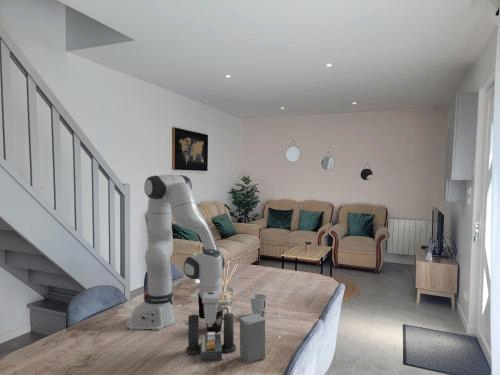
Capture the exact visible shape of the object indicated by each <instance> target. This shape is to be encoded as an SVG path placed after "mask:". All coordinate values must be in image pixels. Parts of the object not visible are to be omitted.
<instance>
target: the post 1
mask: <svg viewBox="0 0 500 375" xmlns="http://www.w3.org/2000/svg"><path fill="white" fill-rule="evenodd" d="M199 316H200V315H198V314H190V315H188V319H187V322H188V325H187V326H188V330H187V332H188V346H187V347H186V348H185V353H186V355H188V354H189V356H196V355H197V356H198V355H199V354H201V345H199V344H200V343H199V341H200V340H199V337H200V336H199V330H200V329H199V325H200V324H199V323H200V322H199V320H200V319H199Z"/></svg>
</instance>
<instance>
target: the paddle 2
mask: <svg viewBox="0 0 500 375" xmlns="http://www.w3.org/2000/svg"><path fill="white" fill-rule="evenodd" d="M206 346H207V350H208V349H212V348H215V343H214V341H211V342H207V343H206Z"/></svg>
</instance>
